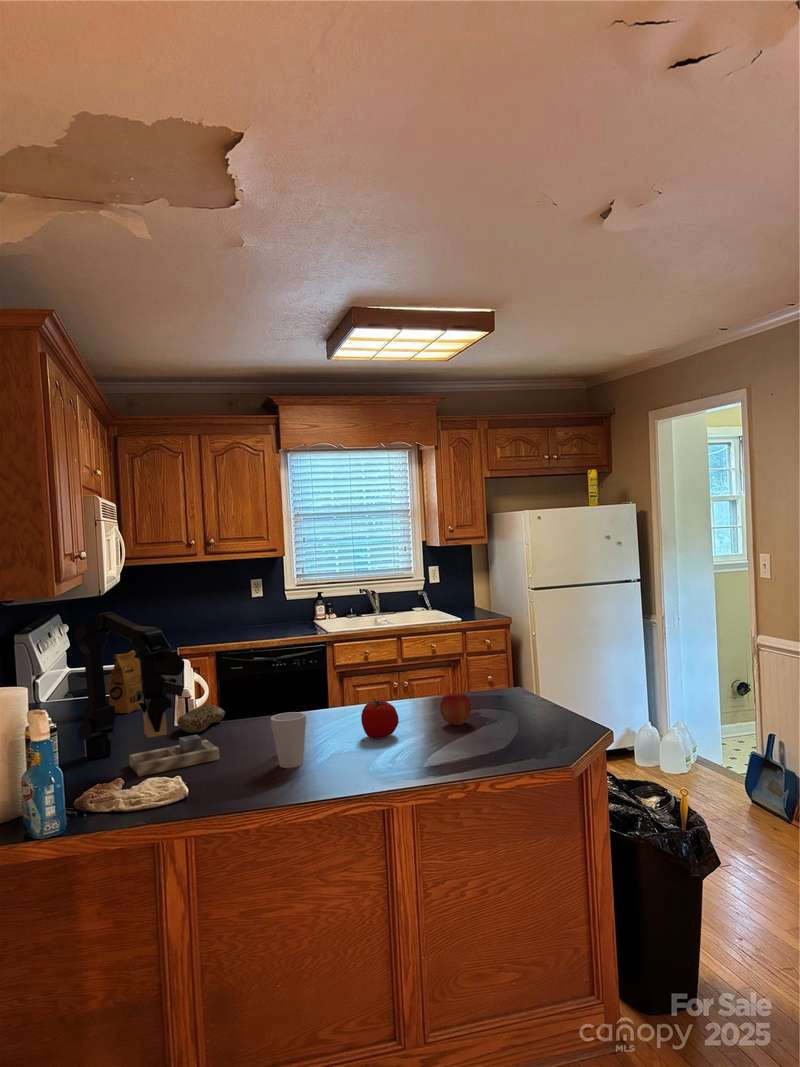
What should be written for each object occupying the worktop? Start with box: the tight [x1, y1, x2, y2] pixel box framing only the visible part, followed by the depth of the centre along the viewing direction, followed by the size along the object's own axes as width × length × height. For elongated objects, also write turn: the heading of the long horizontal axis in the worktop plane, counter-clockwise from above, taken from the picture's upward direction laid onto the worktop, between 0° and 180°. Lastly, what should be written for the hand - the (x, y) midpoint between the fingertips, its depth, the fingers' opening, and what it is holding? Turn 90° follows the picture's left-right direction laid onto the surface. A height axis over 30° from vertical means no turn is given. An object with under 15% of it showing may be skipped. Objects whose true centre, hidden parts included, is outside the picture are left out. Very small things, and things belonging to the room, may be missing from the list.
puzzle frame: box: [128, 733, 221, 777], centre depth 214 cm, size 22×12×6 cm, turn 121°
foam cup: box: [270, 711, 307, 769], centre depth 205 cm, size 10×9×13 cm
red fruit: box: [360, 698, 399, 739], centre depth 226 cm, size 12×12×11 cm
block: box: [142, 711, 168, 739], centre depth 212 cm, size 5×5×6 cm
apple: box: [439, 691, 472, 726], centre depth 236 cm, size 10×10×10 cm
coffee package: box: [107, 649, 142, 715], centre depth 286 cm, size 10×12×22 cm
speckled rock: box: [177, 704, 226, 734], centre depth 251 cm, size 13×8×20 cm
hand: (155, 729), depth 212 cm, fingers closed on block, 5 cm apart
